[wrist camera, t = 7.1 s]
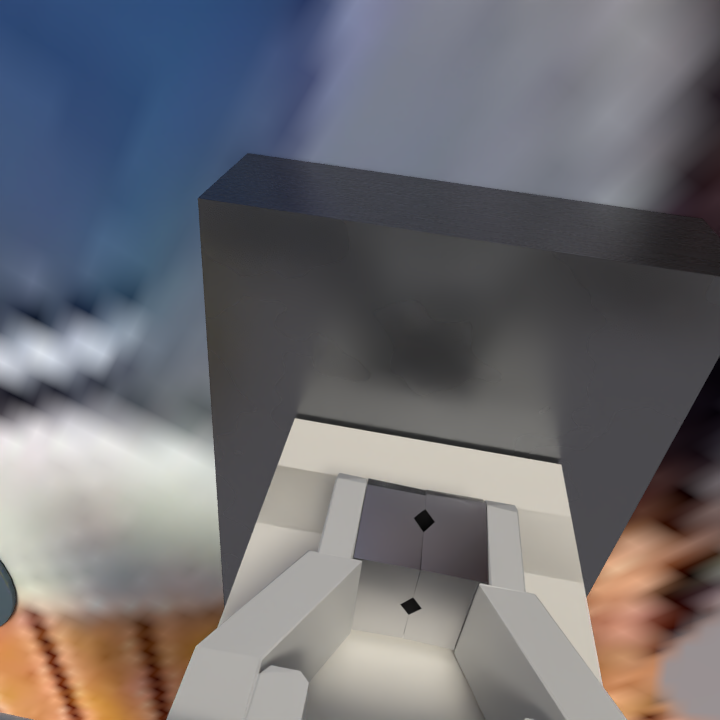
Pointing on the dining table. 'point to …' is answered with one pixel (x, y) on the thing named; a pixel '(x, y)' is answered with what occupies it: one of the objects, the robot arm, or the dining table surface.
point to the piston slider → (427, 472)
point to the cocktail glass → (6, 595)
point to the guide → (450, 330)
